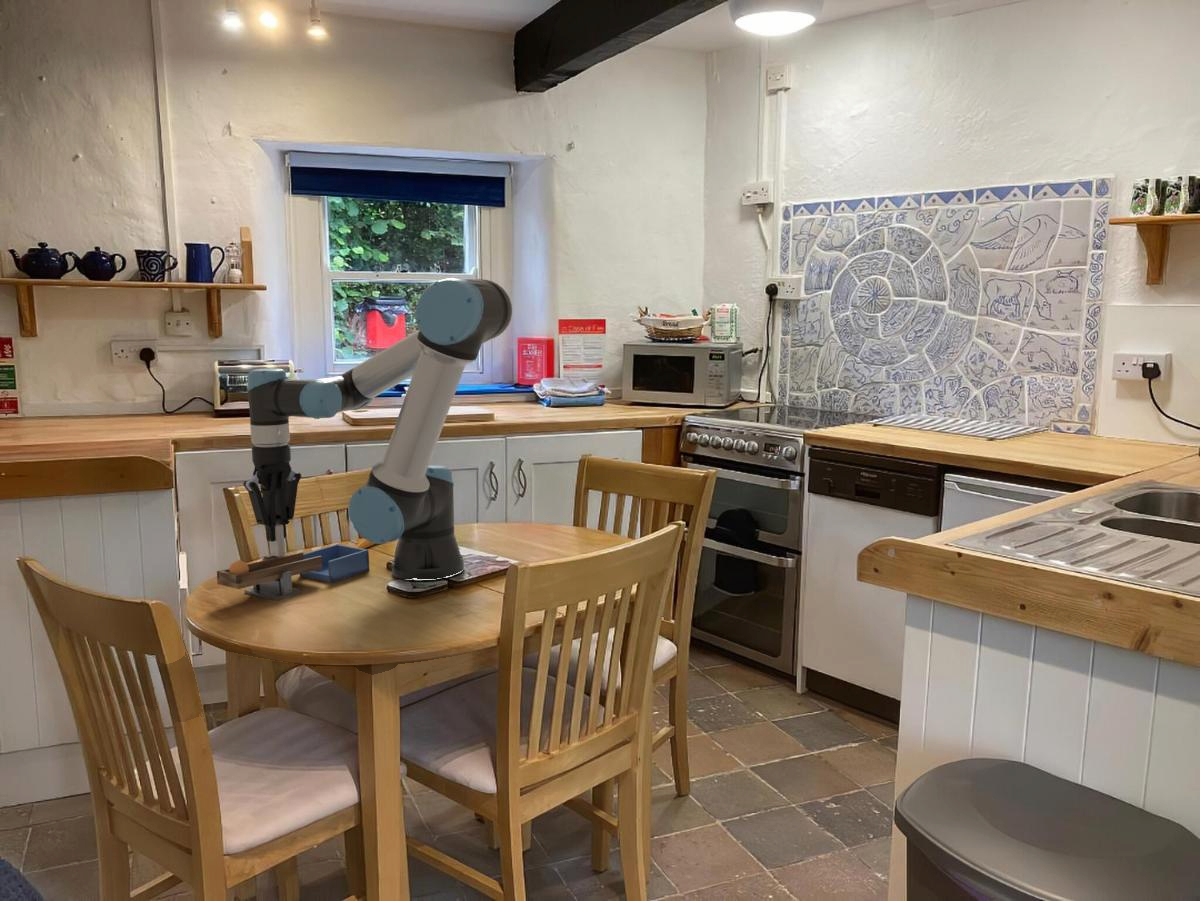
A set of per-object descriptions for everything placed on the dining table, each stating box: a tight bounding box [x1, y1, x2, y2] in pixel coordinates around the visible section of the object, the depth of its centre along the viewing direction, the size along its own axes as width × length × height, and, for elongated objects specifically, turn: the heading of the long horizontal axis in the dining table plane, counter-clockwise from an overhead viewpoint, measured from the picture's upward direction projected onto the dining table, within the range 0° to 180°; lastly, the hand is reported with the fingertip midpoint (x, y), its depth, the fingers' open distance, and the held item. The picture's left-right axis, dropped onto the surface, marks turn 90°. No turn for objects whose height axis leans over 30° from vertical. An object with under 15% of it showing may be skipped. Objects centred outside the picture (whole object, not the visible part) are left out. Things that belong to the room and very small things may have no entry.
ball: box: [228, 560, 249, 575], centre depth 181 cm, size 4×4×4 cm
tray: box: [299, 543, 370, 584], centre depth 201 cm, size 10×11×4 cm
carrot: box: [355, 538, 378, 549], centre depth 225 cm, size 20×4×4 cm, turn 163°
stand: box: [243, 571, 302, 602], centre depth 188 cm, size 10×6×5 cm, turn 57°
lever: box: [216, 551, 322, 590], centre depth 189 cm, size 14×20×2 cm
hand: (277, 554), depth 198 cm, fingers closed
